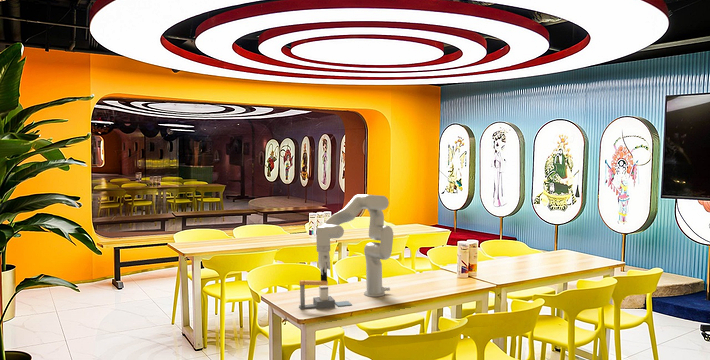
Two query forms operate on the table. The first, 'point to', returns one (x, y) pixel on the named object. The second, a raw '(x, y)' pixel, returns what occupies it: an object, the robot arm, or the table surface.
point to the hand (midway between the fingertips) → (323, 281)
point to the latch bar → (313, 282)
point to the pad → (343, 303)
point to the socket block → (315, 301)
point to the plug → (323, 292)
